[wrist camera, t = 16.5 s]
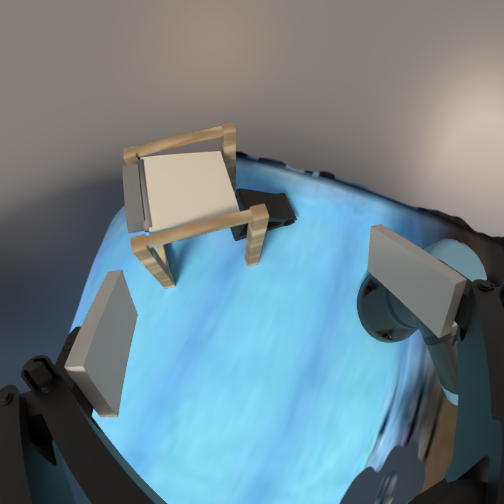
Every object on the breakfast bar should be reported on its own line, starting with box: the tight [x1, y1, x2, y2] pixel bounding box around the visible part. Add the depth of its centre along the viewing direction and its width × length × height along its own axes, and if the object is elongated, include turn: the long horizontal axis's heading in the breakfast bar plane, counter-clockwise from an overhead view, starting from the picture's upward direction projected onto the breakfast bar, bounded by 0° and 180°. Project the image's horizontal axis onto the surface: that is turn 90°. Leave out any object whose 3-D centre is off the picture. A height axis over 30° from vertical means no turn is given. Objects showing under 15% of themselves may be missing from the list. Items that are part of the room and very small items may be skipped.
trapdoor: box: [123, 151, 240, 234], centre depth 40 cm, size 13×16×3 cm
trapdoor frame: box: [123, 123, 269, 289], centre depth 47 cm, size 18×18×19 cm
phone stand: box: [230, 188, 297, 241], centre depth 55 cm, size 9×6×12 cm
